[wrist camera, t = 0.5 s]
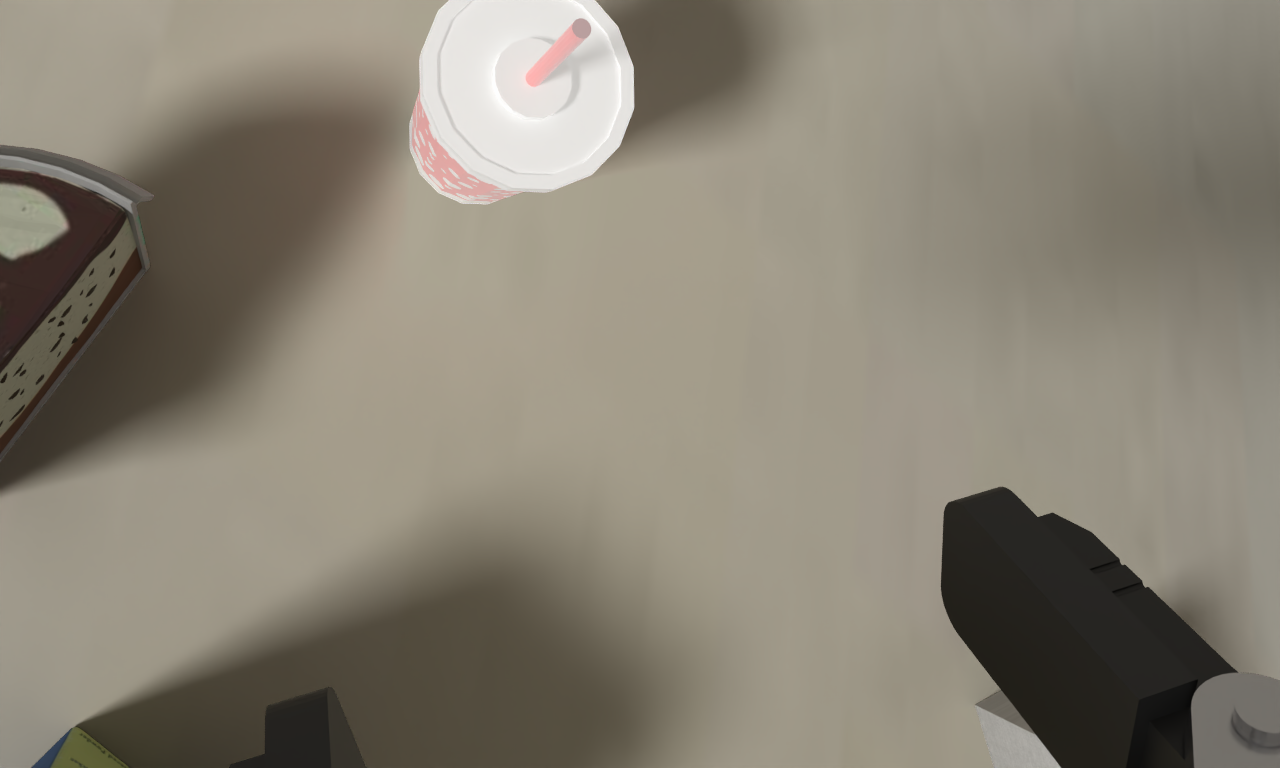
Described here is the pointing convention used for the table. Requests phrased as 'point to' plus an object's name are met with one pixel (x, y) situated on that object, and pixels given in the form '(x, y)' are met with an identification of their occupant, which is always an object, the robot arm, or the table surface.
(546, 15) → the beverage cup
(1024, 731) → the small milk carton
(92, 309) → the food container
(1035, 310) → the table surface
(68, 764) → the protein box
